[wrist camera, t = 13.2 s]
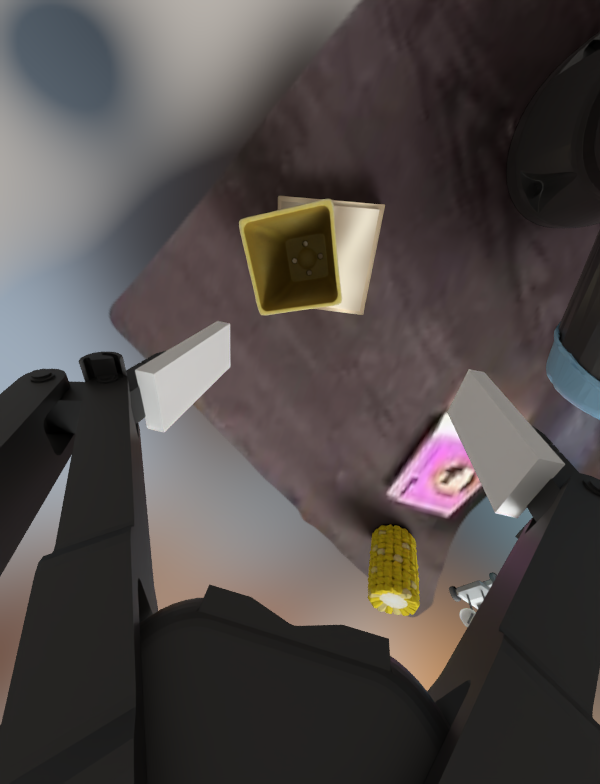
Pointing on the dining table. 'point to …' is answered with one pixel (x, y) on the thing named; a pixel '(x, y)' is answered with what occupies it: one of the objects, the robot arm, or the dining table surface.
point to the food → (393, 571)
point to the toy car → (472, 596)
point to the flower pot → (284, 243)
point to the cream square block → (350, 248)
